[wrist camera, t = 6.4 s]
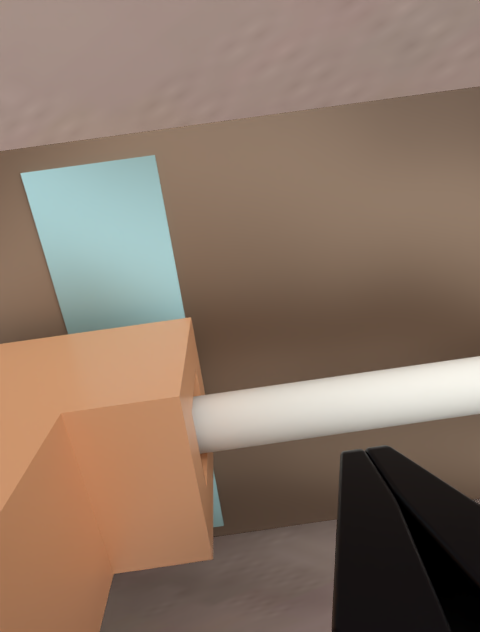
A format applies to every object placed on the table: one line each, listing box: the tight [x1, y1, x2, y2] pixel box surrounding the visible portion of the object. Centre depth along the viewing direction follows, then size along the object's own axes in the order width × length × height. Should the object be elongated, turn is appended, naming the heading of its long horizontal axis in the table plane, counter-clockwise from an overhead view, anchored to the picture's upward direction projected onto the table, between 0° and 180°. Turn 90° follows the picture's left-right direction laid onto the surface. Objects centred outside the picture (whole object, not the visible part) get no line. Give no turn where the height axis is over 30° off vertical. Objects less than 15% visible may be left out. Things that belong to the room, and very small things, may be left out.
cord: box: [192, 356, 480, 454], centre depth 9 cm, size 1×20×1 cm, turn 97°
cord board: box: [0, 87, 480, 537], centre depth 12 cm, size 12×23×2 cm, turn 97°
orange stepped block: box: [0, 317, 213, 632], centre depth 7 cm, size 4×5×7 cm
